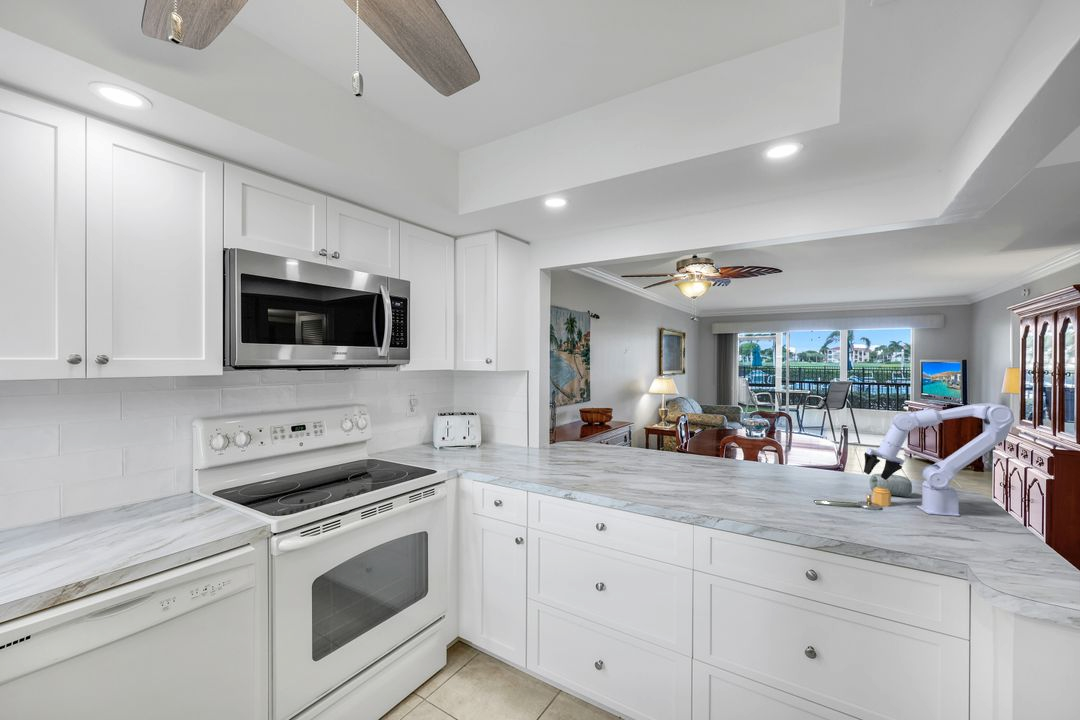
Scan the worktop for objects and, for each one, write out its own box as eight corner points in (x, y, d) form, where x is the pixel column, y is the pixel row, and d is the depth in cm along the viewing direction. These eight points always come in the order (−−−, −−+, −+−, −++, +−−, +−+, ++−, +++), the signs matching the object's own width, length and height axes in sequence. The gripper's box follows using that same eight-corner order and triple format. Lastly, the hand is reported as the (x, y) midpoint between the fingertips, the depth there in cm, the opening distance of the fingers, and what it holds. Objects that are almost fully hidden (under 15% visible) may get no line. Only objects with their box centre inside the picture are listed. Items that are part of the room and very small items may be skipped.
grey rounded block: (867, 487, 183) (874, 464, 186) (865, 492, 191) (872, 470, 193) (909, 501, 175) (917, 477, 177) (906, 506, 183) (913, 483, 185)
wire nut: (886, 502, 175) (886, 486, 175) (892, 506, 170) (892, 490, 170) (871, 501, 176) (871, 485, 176) (877, 505, 171) (877, 489, 171)
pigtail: (875, 504, 172) (875, 492, 172) (884, 510, 165) (884, 498, 165) (811, 500, 178) (811, 488, 178) (817, 506, 171) (817, 494, 171)
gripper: (899, 444, 175) (882, 476, 178) (867, 434, 173) (850, 465, 176) (915, 452, 168) (897, 485, 171) (881, 441, 166) (864, 474, 169)
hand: (874, 475), depth 173 cm, fingers open, 7 cm apart
